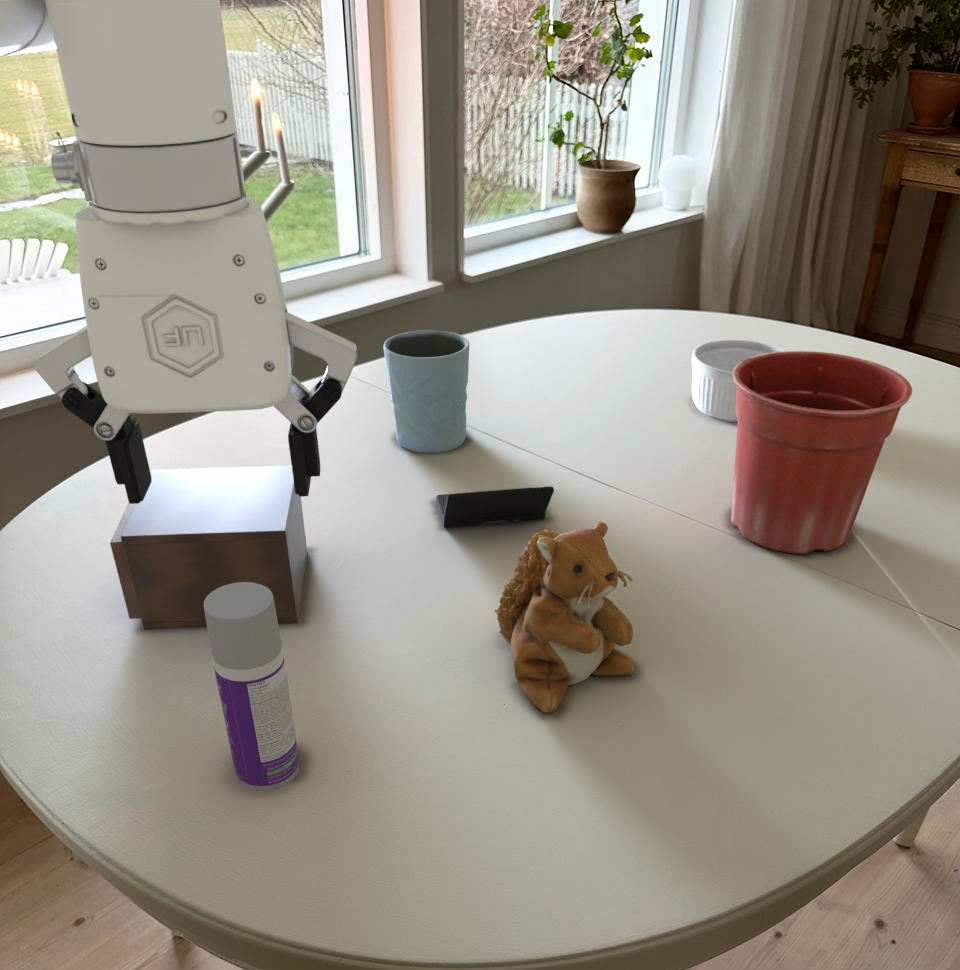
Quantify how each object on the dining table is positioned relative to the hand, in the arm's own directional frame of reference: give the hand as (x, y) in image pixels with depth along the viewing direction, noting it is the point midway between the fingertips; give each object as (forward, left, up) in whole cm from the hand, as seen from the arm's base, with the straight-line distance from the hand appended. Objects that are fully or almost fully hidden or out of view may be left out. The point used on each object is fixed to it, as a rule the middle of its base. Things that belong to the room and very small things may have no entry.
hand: (223, 489), depth 57 cm
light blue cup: (+14, +58, -23) cm, 64 cm away
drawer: (-9, +25, -22) cm, 35 cm away
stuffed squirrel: (+23, +12, -23) cm, 35 cm away
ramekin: (+55, +65, -23) cm, 88 cm away
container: (0, 0, -23) cm, 23 cm away
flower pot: (+51, +33, -23) cm, 65 cm away
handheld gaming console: (+20, +37, -23) cm, 48 cm away
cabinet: (-6, +25, -23) cm, 35 cm away
